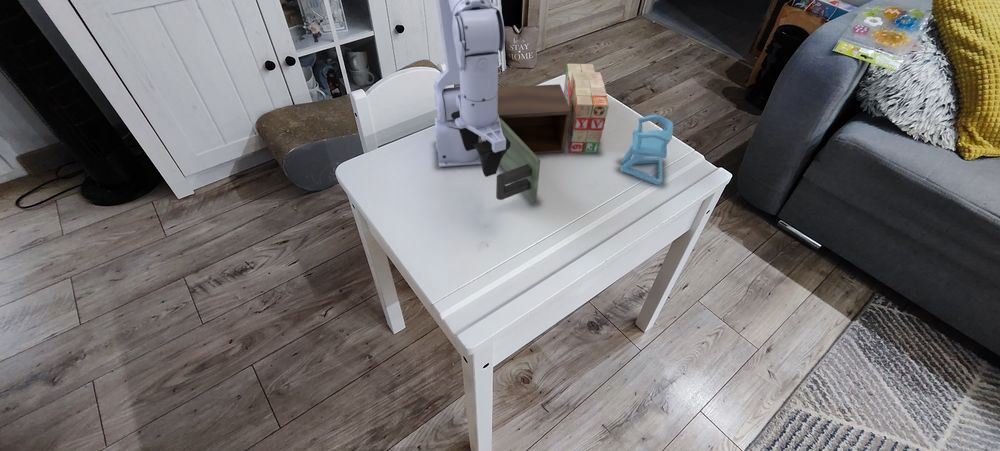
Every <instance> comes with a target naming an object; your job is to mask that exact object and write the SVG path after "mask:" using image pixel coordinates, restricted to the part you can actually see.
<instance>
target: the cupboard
mask: <svg viewBox="0 0 1000 451" xmlns="http://www.w3.org/2000/svg"><path fill="white" fill-rule="evenodd" d="M570 113H571V110H570V108H569V105H568V103H567V100H566V98H565V95H564V89H563V88H562V86H561V84H560V83H558V84H538V85H522V86H521V85H520V86H519V85H517V86H500V87H499V86H498V115H499V118H501V119H502V120H503V121H504V122H505V123H506V124H507V125H508V127H509V128H510V129H511V130H512V131H513V132H514V133H515V134H516V135H517V136H518V137H519V138H520V139H521V140H522V141H523V142H524V143H525V144H526V145H527V146H528V147H529V149H530V150H531V151H532V152H533V153H534V154H535V155H536V156H542V155H543V156H544V155H557V154H559V155H560V154H565V150H566V145H567V139H568V137H567V135H568V134H567V132H568V126H569V119H570Z"/></svg>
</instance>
